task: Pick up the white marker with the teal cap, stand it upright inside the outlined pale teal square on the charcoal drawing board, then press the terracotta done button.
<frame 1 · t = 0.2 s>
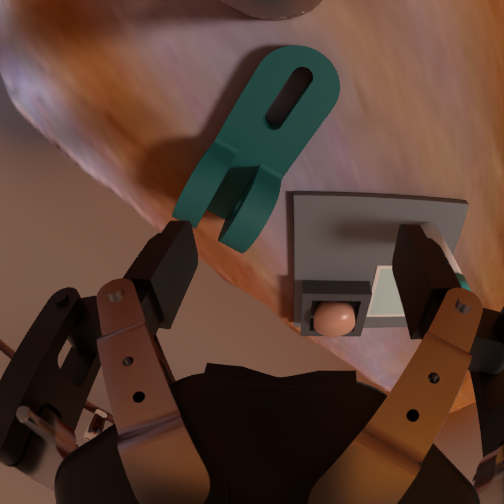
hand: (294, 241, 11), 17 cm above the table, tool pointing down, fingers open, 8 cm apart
drawing board: (374, 270, 33), on the table
marker: (426, 233, 28), point 1 cm above the table, touching drawing board
beer glass: (102, 411, 99), on the table
done button: (334, 318, 35), point 3 cm above the table, slide at 0.0 cm
bracket: (264, 131, 26), on the table
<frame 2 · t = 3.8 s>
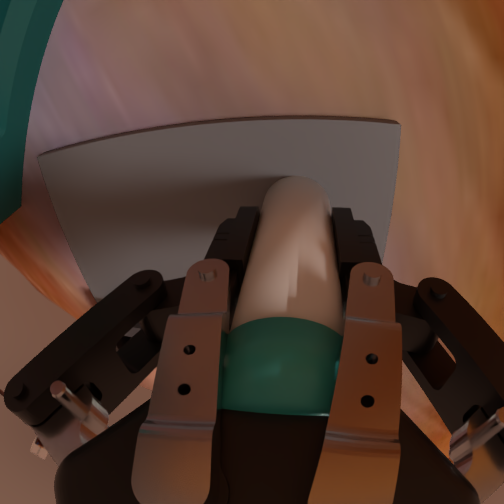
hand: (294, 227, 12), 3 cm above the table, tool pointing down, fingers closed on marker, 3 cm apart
drawing board: (214, 288, 18), on the table
marker: (296, 206, 13), point 1 cm above the table, touching drawing board, gripper
beer glass: (49, 425, 81), on the table
done button: (155, 365, 20), point 3 cm above the table, slide at 0.0 cm
bracket: (9, 77, 12), on the table
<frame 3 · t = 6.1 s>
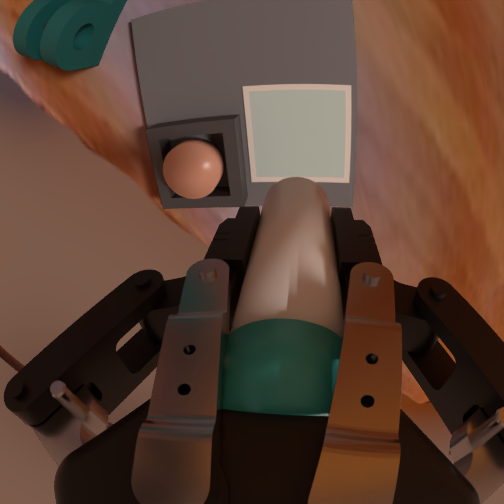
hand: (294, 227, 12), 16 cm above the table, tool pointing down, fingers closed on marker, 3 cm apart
drawing board: (245, 101, 24), on the table
marker: (296, 207, 14), point 14 cm above the table, touching gripper
done button: (193, 168, 25), point 3 cm above the table, slide at 0.0 cm
when the fingers open (4 cm above the table, at t = 8.8 s): marker drops 1 cm, resting on drawing board.
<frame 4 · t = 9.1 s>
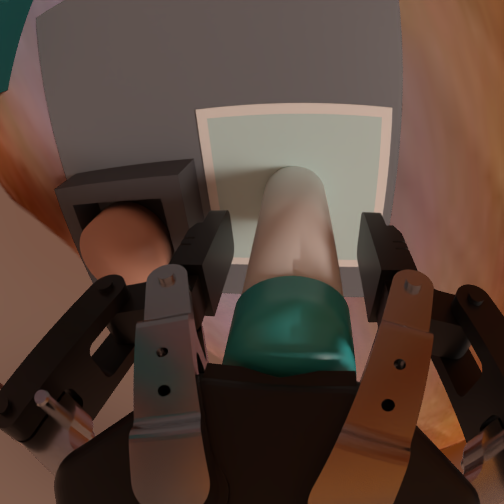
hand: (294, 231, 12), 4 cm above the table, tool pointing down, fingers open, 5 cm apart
drawing board: (205, 134, 14), on the table
marker: (294, 194, 15), point 1 cm above the table, touching drawing board
done button: (125, 250, 15), point 3 cm above the table, slide at 0.0 cm
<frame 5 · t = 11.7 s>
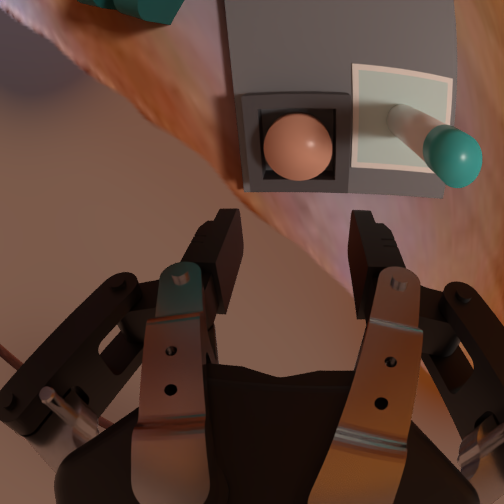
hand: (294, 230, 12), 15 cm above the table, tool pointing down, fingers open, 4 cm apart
drawing board: (350, 80, 20), on the table
marker: (403, 121, 21), point 1 cm above the table, touching drawing board
done button: (298, 145, 22), point 3 cm above the table, slide at 0.0 cm
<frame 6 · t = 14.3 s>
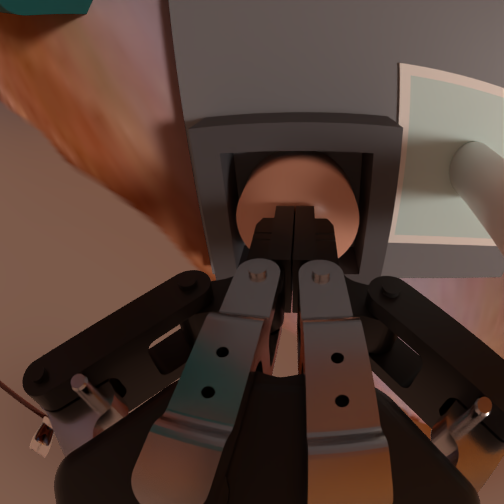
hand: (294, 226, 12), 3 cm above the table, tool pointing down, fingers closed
drawing board: (393, 93, 11), on the table
marker: (473, 170, 11), point 1 cm above the table, touching drawing board
beer glass: (51, 419, 74), on the table
done button: (298, 210, 13), point 2 cm above the table, slide at 0.9 cm, touching gripper
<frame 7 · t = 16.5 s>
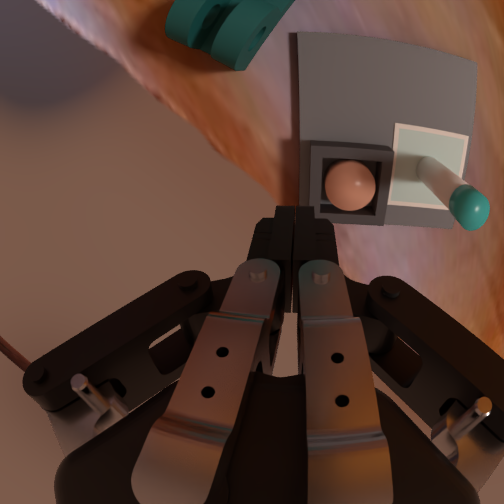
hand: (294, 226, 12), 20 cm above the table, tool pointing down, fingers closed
drawing board: (391, 135, 26), on the table
marker: (428, 170, 27), point 1 cm above the table, touching drawing board
done button: (349, 183, 28), point 2 cm above the table, slide at 1.2 cm
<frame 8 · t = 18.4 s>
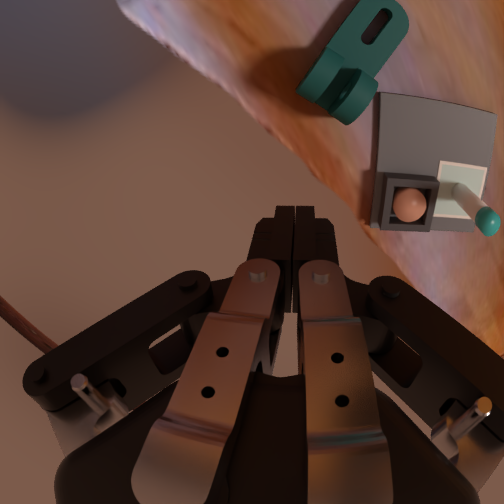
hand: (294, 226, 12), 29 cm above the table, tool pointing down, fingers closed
drawing board: (436, 168, 36), on the table
marker: (459, 192, 36), point 1 cm above the table, touching drawing board
done button: (408, 203, 38), point 2 cm above the table, slide at 1.2 cm
bracket: (355, 50, 29), on the table
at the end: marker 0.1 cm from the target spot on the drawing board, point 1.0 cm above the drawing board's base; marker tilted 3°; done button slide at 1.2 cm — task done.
